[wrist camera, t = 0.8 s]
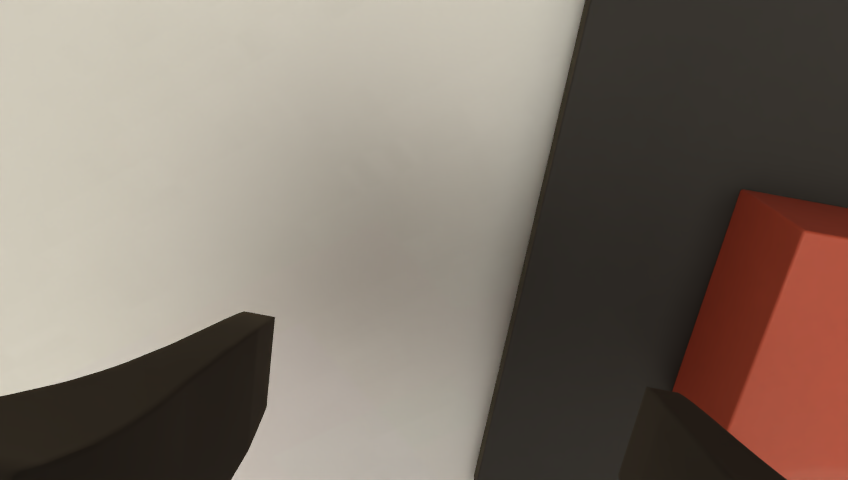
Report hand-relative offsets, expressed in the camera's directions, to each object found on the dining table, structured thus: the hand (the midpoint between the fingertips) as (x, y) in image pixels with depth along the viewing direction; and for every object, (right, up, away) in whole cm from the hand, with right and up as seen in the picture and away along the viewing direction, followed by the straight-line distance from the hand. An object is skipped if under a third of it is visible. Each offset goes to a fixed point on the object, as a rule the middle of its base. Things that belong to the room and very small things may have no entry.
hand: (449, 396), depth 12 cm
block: (+11, +1, +8) cm, 13 cm away
